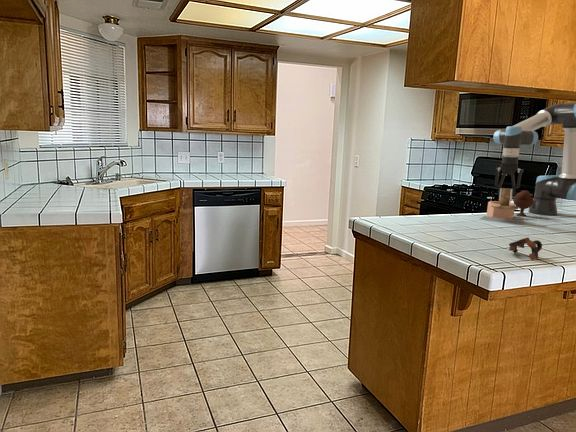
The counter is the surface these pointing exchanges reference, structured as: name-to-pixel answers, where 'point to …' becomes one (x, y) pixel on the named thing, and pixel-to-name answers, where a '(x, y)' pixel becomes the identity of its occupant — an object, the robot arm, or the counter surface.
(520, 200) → the ice cream bowl
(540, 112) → the robot arm
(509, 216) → the pink squat block
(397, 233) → the counter surface
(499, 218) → the mat
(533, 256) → the brown curved piece
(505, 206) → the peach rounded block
